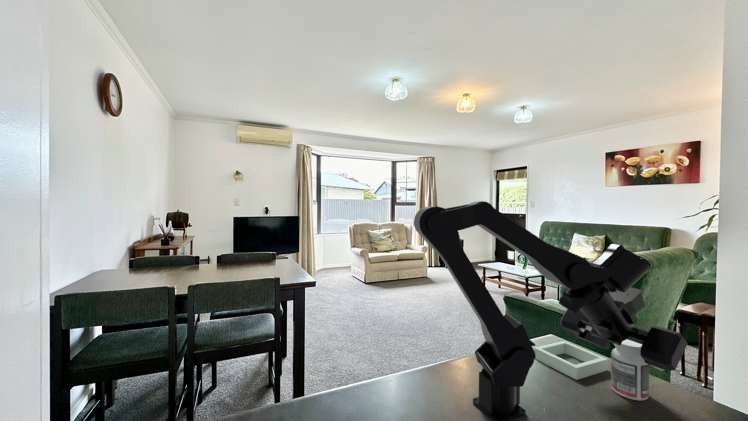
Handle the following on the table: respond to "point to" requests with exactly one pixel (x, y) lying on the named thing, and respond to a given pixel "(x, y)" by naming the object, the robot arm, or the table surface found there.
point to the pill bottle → (629, 371)
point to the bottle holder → (579, 371)
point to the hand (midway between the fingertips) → (633, 357)
